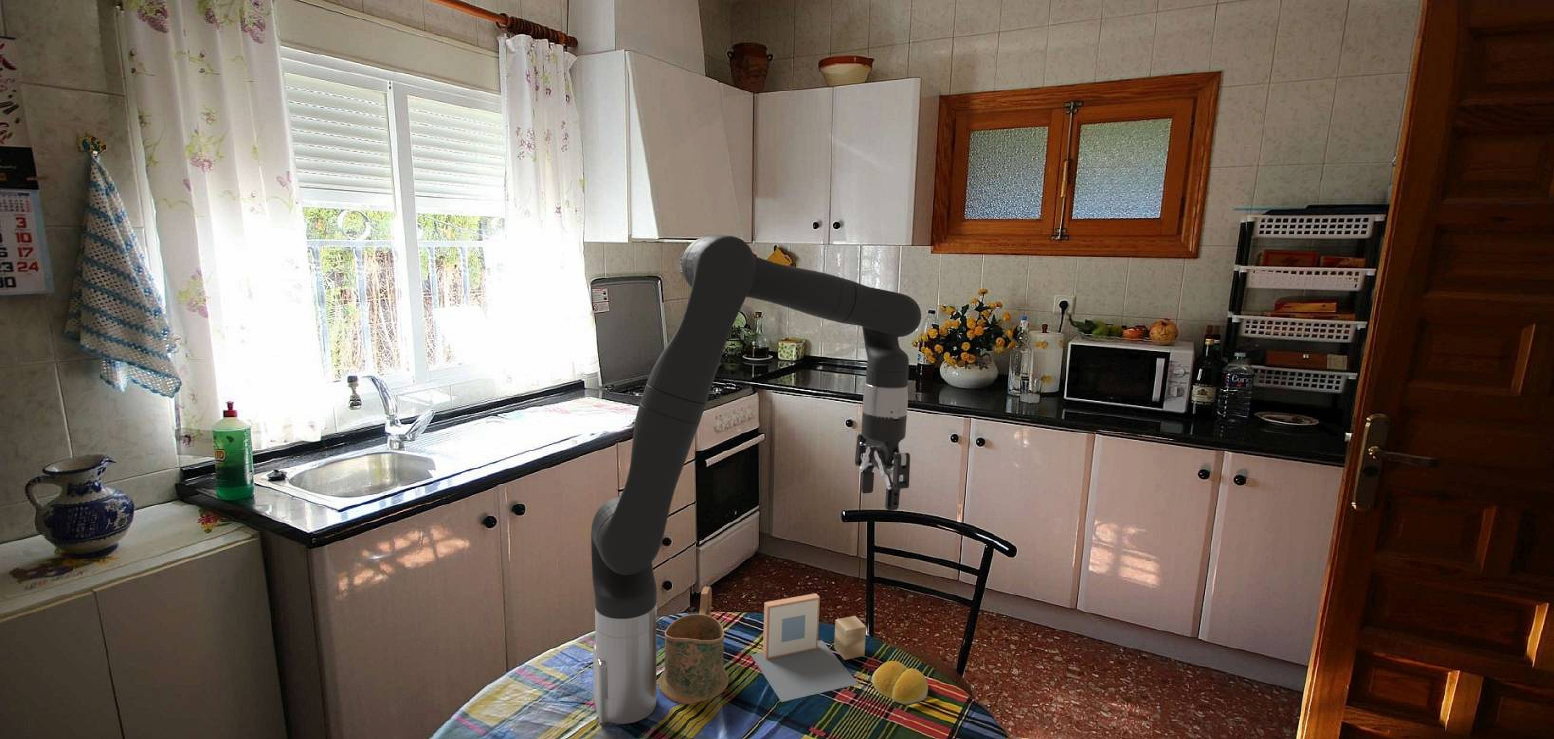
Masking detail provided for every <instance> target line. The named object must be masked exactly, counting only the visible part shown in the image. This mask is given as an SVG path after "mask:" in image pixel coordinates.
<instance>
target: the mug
mask: <svg viewBox="0 0 1554 739" xmlns="http://www.w3.org/2000/svg"><path fill="white" fill-rule="evenodd" d="M712 592H713V590H712V587H711V586H703V588H702V590H701V593H700V604H699V605H700V606H699V613H691V614H687V615H684V616H681V617H679V618H677V619H675V620H674V621H673V622H671V623H670V624H669V625H668V627H667V628H666V629H665V631H664V670H663V671H662V673H661V674H660V676H659V678H658V687H659V688H658V689H659V691H660V693H661V694H662V695H663V696H664V697H665V698H666V699H668V700H671V701H673V702H674V703H679V704H683V705H696V704H695V703H698V702H704V701H708V700H710V699H713V698H716V697H717V696H720V694H722V693H723V692H724V691H725V690H726V688H727V687H728V684H729V680H730V679H729V678H730V677H729V674H728V672H727V670H726V669H724V648H725V647H724V646H725V644H724V643H725V642H724V641H725V640H724V638H725V631H724V627H723V625H722V624H721V622H720V621H719V620H718V619H716V618H715V617H713V616H711V614H712V597H713V596H712V595H713V594H712Z"/></svg>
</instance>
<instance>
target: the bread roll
mask: <svg viewBox="0 0 1554 739" xmlns="http://www.w3.org/2000/svg"><path fill="white" fill-rule="evenodd" d="M871 682H872V685H873V687H874V689H875V691H876V692H878V693H879V694H881V695H882V696H884V697H886V698H889V699H891V700H893V701H895V702H896V703H899V704H902V705H909V704H912V705H913V704H917V703H920V702H923V700H925V699H926V697H927V695H928V692H929V691H928V690H929V683H928V680H927V678H926V676H925V675H924V674H923V673H922V672H921V671H919V669H916V668H908V667H907V666H906V665H904V664H903V663H901V662H899V661H898V660H896V661H895V660H888V661H886V662H884V663H882V664H881V665H880V666H879V667H877V669H876V670H875V671H874V672H873V673H872V676H871Z"/></svg>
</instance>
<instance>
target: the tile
mask: <svg viewBox="0 0 1554 739" xmlns="http://www.w3.org/2000/svg"><path fill="white" fill-rule="evenodd" d="M820 599H821V597H820V595H818V594H817V593H815V592H814V593H809V594H805V595H804V594H803V595H799V596H794V597H793V596H792V597H788V598H782V599H776V600H770V601H765V602H764V605H763V606H764V607H763V638H762V640H763V642H762V652H763V656H764V657H765V659H770V658H775V657H780V656H785V655H789V654H794V653H799V652H804V651H808V650H813V649H817V647H818V641H819V625H820V624H819V623H820V620H819V618H820V605H821V603H820V601H821V600H820Z"/></svg>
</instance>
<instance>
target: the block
mask: <svg viewBox="0 0 1554 739" xmlns="http://www.w3.org/2000/svg"><path fill="white" fill-rule="evenodd" d="M834 624H835V625H834V643H833V644H834V645H833V648H834V649H835V651H836V652H837V653H838V655H840V656H841V658H842V659H843V660H844V661H847V660H850V659H855V658H859V657H864V656H865V650H866V632H867V626H866V625H865V624H864V623H863V622H862V621H861V620H860V619H859V617H857V616H856V615H851V616H847V617H842V618H837V619H835V621H834Z"/></svg>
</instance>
